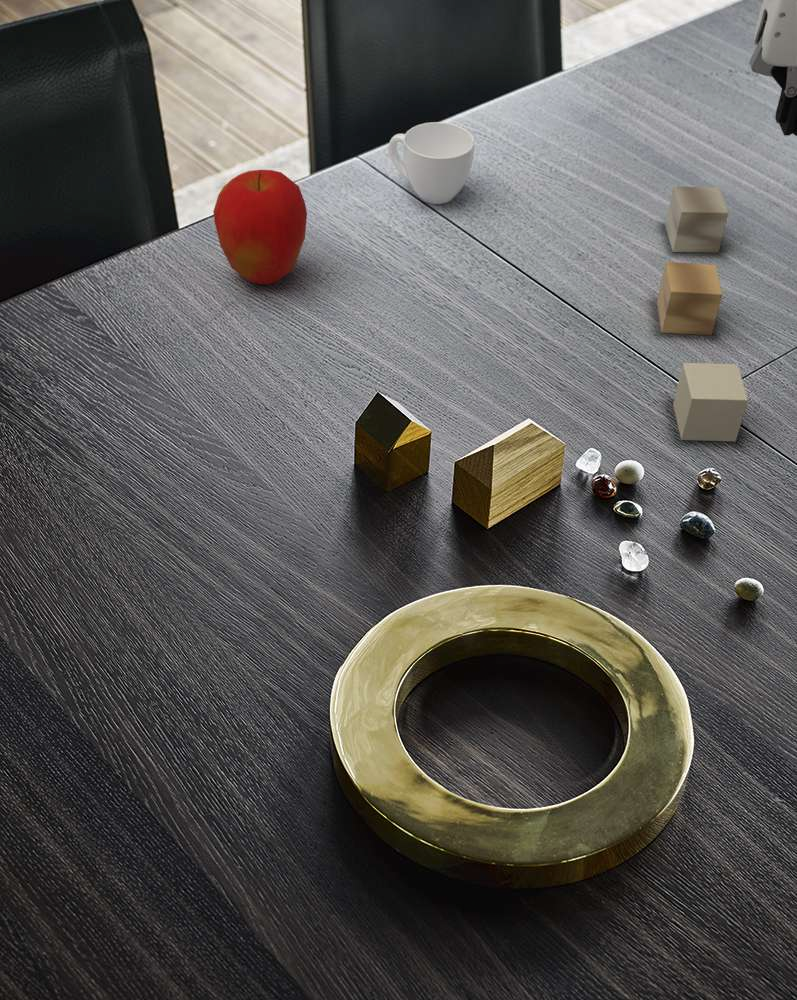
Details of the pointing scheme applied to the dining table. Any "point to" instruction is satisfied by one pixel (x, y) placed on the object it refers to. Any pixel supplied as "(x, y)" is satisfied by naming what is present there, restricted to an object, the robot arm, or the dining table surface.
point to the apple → (261, 224)
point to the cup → (434, 159)
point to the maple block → (689, 298)
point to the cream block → (710, 402)
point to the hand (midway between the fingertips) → (789, 128)
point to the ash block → (696, 219)
